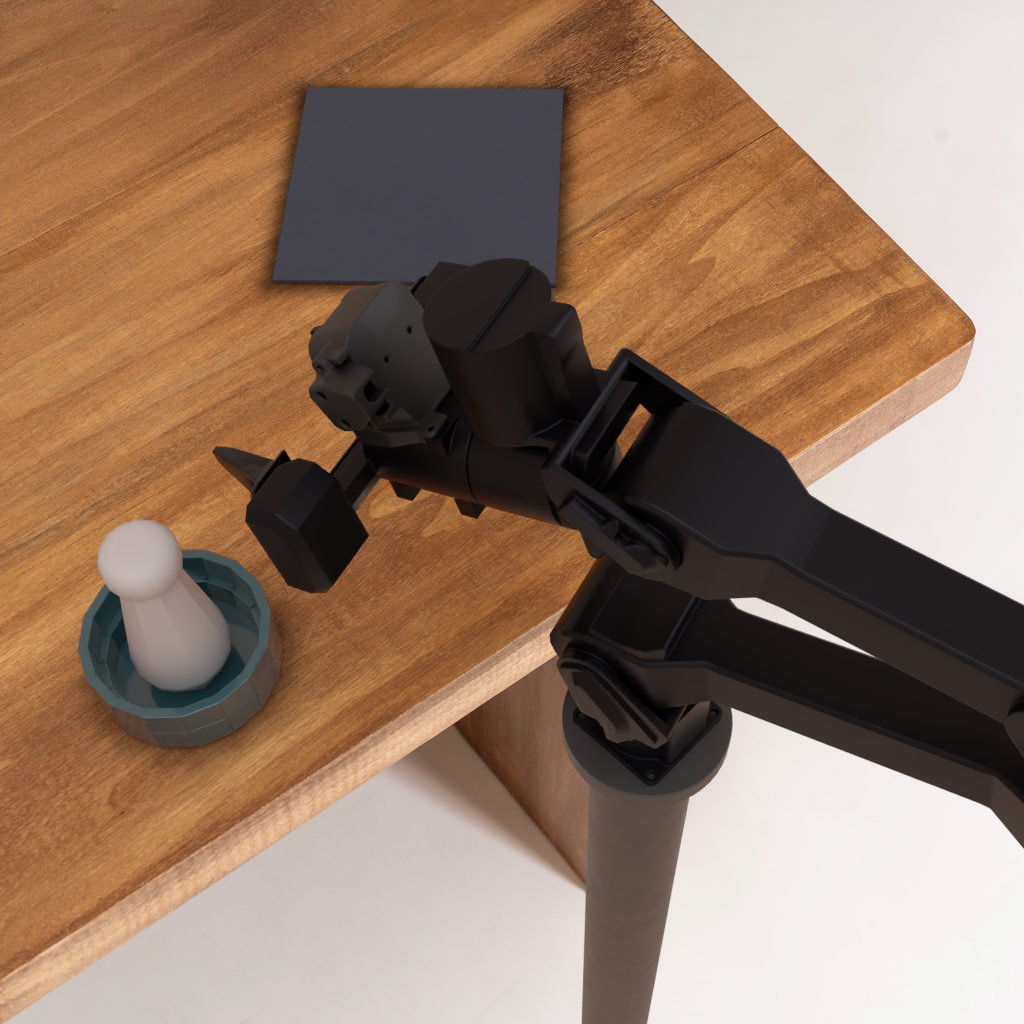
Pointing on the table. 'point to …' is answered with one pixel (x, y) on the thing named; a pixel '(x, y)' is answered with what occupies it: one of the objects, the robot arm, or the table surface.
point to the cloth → (421, 183)
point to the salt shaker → (163, 608)
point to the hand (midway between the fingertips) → (267, 393)
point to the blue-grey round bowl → (200, 710)
